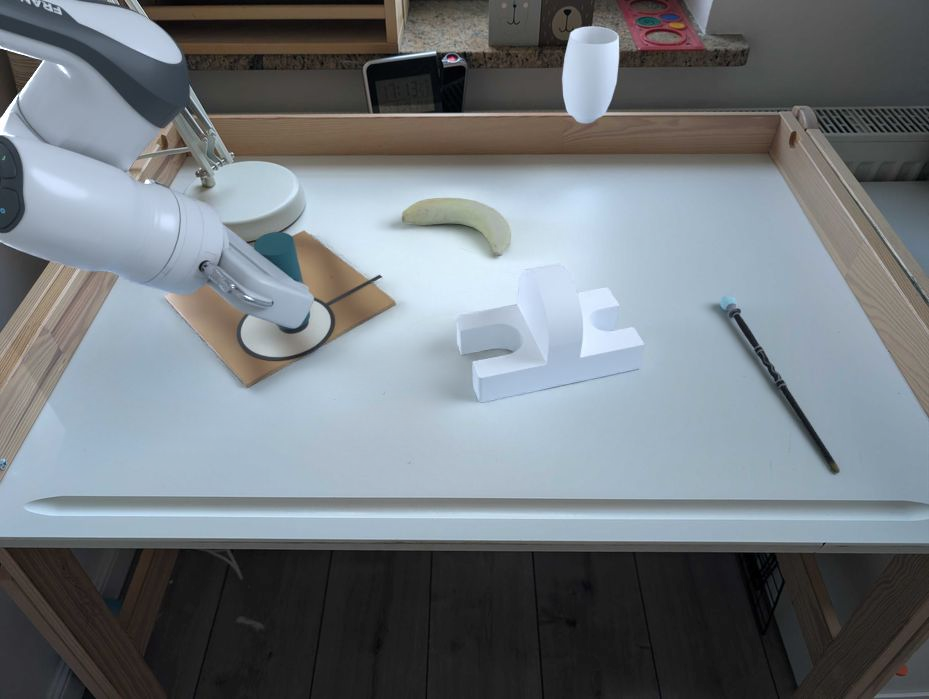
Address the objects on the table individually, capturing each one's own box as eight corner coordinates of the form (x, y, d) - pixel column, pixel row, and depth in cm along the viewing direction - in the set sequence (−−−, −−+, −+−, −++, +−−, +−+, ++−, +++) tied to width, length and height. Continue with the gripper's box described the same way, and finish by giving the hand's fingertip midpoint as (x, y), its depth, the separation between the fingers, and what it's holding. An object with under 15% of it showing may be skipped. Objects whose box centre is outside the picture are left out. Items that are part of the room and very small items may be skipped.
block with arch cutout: (603, 311, 84) (616, 233, 76) (639, 369, 77) (656, 290, 70) (455, 340, 81) (452, 262, 73) (479, 403, 74) (478, 324, 67)
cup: (562, 163, 109) (575, 21, 94) (609, 172, 106) (629, 29, 92) (547, 187, 104) (557, 41, 89) (595, 197, 102) (614, 50, 87)
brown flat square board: (250, 391, 76) (248, 386, 76) (165, 299, 87) (163, 294, 87) (409, 301, 86) (408, 296, 86) (315, 229, 97) (314, 224, 97)
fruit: (427, 203, 101) (426, 182, 99) (524, 231, 96) (525, 210, 94) (400, 229, 97) (398, 208, 95) (500, 260, 92) (500, 238, 89)
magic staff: (831, 480, 68) (827, 473, 67) (720, 305, 85) (715, 297, 84) (849, 471, 67) (845, 464, 66) (733, 298, 85) (729, 289, 83)
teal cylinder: (287, 341, 78) (266, 260, 70) (268, 322, 80) (246, 242, 72) (318, 324, 80) (301, 243, 72) (299, 306, 82) (280, 227, 74)
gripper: (254, 263, 59) (362, 299, 70) (140, 171, 69) (251, 216, 81) (219, 329, 60) (332, 354, 71) (113, 228, 70) (225, 264, 82)
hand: (288, 280), depth 76 cm, fingers closed on teal cylinder, 4 cm apart
